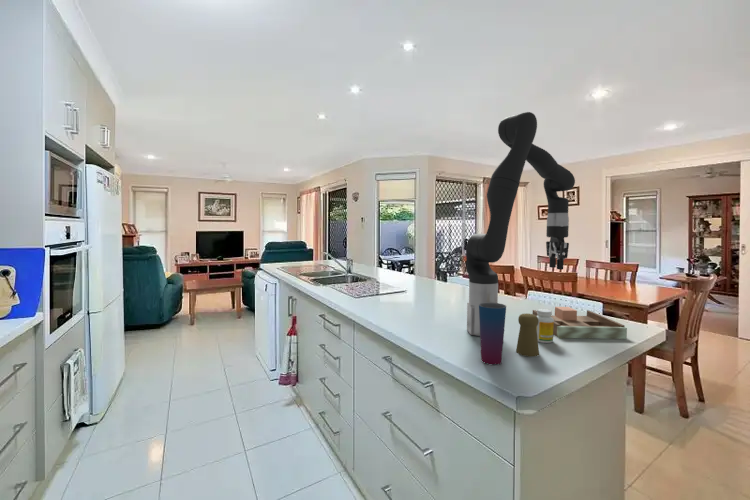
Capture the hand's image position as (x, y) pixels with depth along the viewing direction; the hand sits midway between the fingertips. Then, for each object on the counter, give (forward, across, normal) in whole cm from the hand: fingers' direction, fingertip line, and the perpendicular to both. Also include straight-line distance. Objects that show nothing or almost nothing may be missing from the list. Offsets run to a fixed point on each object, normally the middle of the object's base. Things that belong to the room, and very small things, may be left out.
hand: (556, 268), depth 134 cm
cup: (+20, +47, -38) cm, 63 cm away
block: (+17, +8, 0) cm, 19 cm away
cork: (+20, +40, -26) cm, 51 cm away
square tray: (+19, +16, 0) cm, 25 cm away
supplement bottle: (+20, +29, -16) cm, 39 cm away
